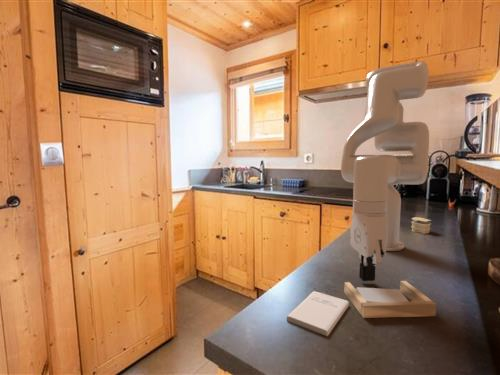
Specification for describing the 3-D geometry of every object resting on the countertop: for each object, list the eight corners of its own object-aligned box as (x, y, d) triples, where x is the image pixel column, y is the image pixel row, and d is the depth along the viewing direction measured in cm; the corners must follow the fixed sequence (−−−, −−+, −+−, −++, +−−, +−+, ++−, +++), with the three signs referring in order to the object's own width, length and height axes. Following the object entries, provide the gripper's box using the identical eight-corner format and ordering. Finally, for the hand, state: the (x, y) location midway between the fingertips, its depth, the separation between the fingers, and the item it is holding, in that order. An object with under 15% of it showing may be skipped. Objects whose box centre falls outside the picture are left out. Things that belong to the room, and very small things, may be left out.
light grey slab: (356, 297, 62) (356, 287, 62) (397, 300, 61) (398, 289, 60) (363, 312, 56) (364, 301, 56) (410, 315, 55) (410, 303, 54)
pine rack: (344, 292, 63) (344, 282, 63) (404, 290, 64) (405, 280, 63) (363, 317, 53) (363, 305, 53) (435, 316, 54) (436, 304, 53)
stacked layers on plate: (438, 233, 112) (439, 220, 111) (425, 236, 108) (425, 222, 107) (415, 228, 121) (415, 215, 120) (401, 230, 117) (402, 218, 116)
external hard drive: (286, 323, 53) (313, 296, 63) (327, 339, 48) (349, 307, 58) (286, 315, 53) (313, 289, 63) (327, 330, 48) (349, 300, 58)
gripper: (342, 202, 73) (341, 267, 75) (368, 213, 58) (366, 295, 60) (370, 201, 73) (367, 266, 75) (403, 213, 58) (399, 293, 60)
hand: (367, 279), depth 68 cm, fingers closed
